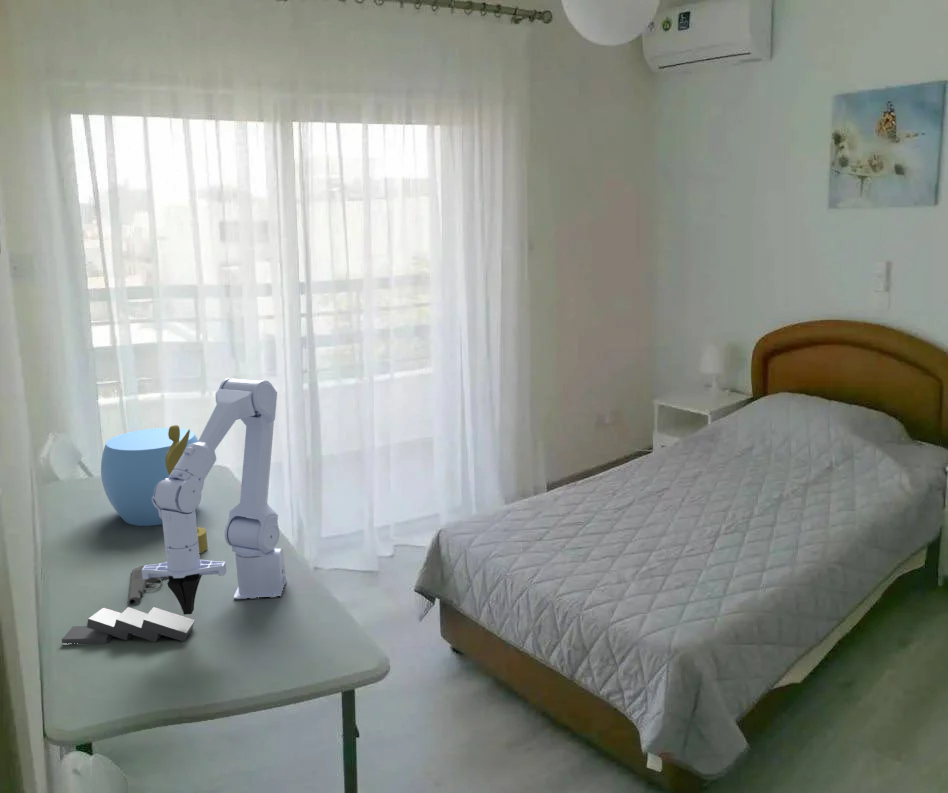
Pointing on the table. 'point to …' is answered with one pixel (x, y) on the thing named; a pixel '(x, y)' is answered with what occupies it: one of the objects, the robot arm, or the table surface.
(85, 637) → the domino end
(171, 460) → the sculpture
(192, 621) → the domino
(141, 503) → the planter
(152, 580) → the handgun
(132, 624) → the domino
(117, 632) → the domino
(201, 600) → the table surface
